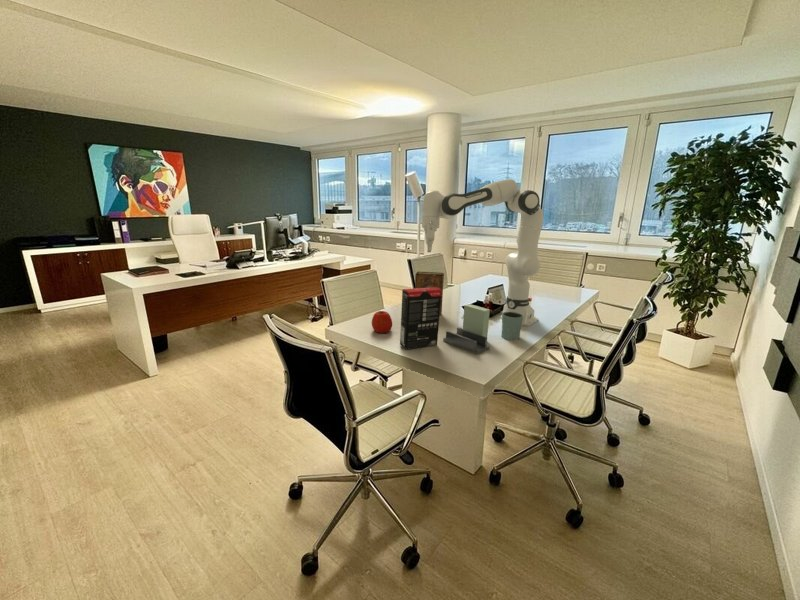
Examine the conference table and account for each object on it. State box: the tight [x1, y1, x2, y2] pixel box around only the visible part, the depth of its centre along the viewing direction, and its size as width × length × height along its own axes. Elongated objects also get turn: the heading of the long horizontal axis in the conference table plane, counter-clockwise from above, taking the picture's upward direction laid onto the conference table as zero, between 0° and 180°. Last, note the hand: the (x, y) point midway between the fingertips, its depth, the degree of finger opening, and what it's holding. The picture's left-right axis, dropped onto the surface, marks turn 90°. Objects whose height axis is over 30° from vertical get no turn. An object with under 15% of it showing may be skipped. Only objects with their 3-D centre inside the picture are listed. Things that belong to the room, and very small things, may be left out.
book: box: [414, 271, 445, 317], centre depth 203 cm, size 16×6×25 cm, turn 80°
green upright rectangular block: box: [462, 303, 491, 338], centre depth 167 cm, size 4×12×16 cm, turn 40°
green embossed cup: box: [501, 312, 523, 341], centre depth 170 cm, size 10×10×12 cm
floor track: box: [442, 326, 490, 355], centre depth 159 cm, size 9×20×6 cm, turn 40°
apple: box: [371, 310, 393, 334], centre depth 175 cm, size 11×11×11 cm
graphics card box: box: [399, 287, 441, 350], centre depth 155 cm, size 17×7×27 cm, turn 114°
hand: (429, 251), depth 173 cm, fingers open, 8 cm apart
